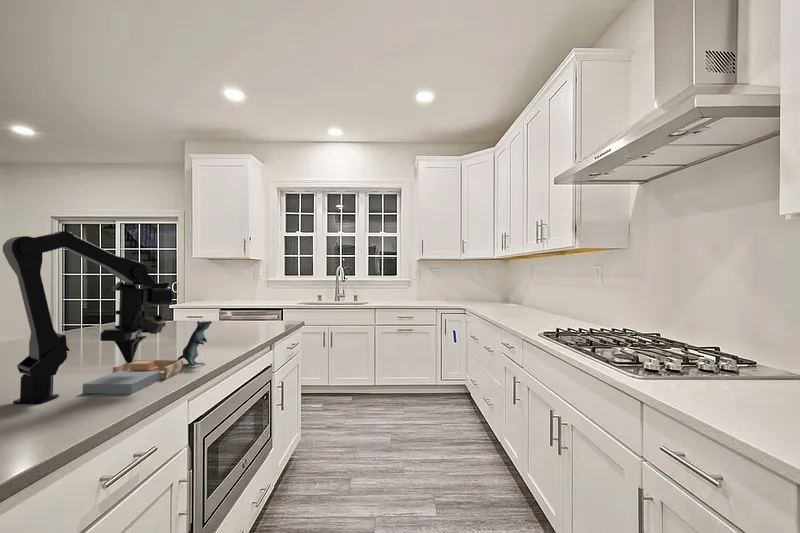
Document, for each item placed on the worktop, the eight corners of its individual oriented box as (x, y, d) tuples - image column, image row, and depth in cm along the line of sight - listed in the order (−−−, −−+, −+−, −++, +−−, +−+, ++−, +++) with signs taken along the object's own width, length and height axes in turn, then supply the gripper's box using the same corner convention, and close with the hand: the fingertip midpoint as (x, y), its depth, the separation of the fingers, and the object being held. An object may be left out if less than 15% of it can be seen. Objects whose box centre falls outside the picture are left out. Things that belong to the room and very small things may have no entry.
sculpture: (203, 367, 151) (205, 322, 152) (171, 366, 151) (173, 321, 152) (214, 362, 160) (215, 320, 160) (183, 362, 160) (185, 319, 160)
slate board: (131, 394, 116) (131, 384, 116) (82, 393, 116) (82, 384, 116) (159, 379, 132) (160, 371, 132) (117, 379, 132) (117, 371, 132)
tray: (165, 379, 133) (166, 367, 133) (112, 379, 132) (112, 367, 132) (182, 371, 145) (182, 360, 145) (133, 370, 144) (134, 359, 144)
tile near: (148, 370, 133) (148, 363, 133) (129, 370, 133) (129, 363, 133) (154, 367, 138) (154, 360, 138) (136, 367, 137) (136, 360, 138)
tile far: (151, 376, 134) (151, 369, 134) (133, 376, 134) (133, 369, 134) (158, 373, 139) (158, 366, 139) (140, 373, 139) (140, 366, 139)
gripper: (144, 309, 118) (142, 369, 118) (175, 305, 137) (173, 357, 136) (100, 308, 117) (97, 369, 117) (136, 304, 136) (134, 356, 135)
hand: (129, 362), depth 126 cm, fingers closed
